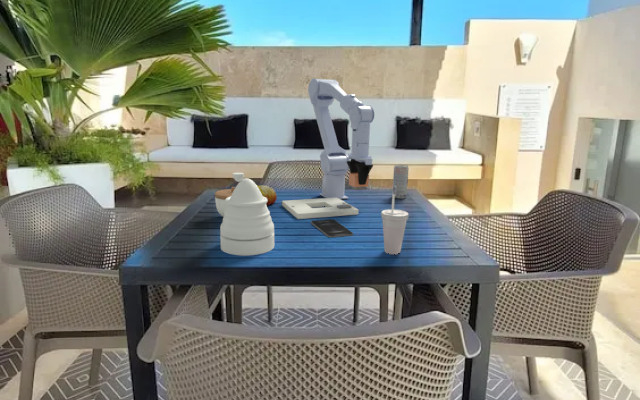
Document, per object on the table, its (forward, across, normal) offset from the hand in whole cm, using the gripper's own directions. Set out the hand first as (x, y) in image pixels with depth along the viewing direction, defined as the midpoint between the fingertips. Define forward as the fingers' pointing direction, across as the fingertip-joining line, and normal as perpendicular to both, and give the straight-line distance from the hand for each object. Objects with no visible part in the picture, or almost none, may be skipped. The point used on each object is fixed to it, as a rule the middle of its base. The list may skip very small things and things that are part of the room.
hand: (358, 182), depth 146 cm
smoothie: (+8, -45, +12) cm, 47 cm away
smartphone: (+8, -23, +19) cm, 31 cm away
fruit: (+8, +12, +31) cm, 34 cm away
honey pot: (+8, -31, +44) cm, 54 cm away
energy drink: (+8, +8, -21) cm, 24 cm away
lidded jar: (+8, -4, +43) cm, 44 cm away
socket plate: (+8, -2, +15) cm, 17 cm away
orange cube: (+2, 0, 0) cm, 2 cm away
